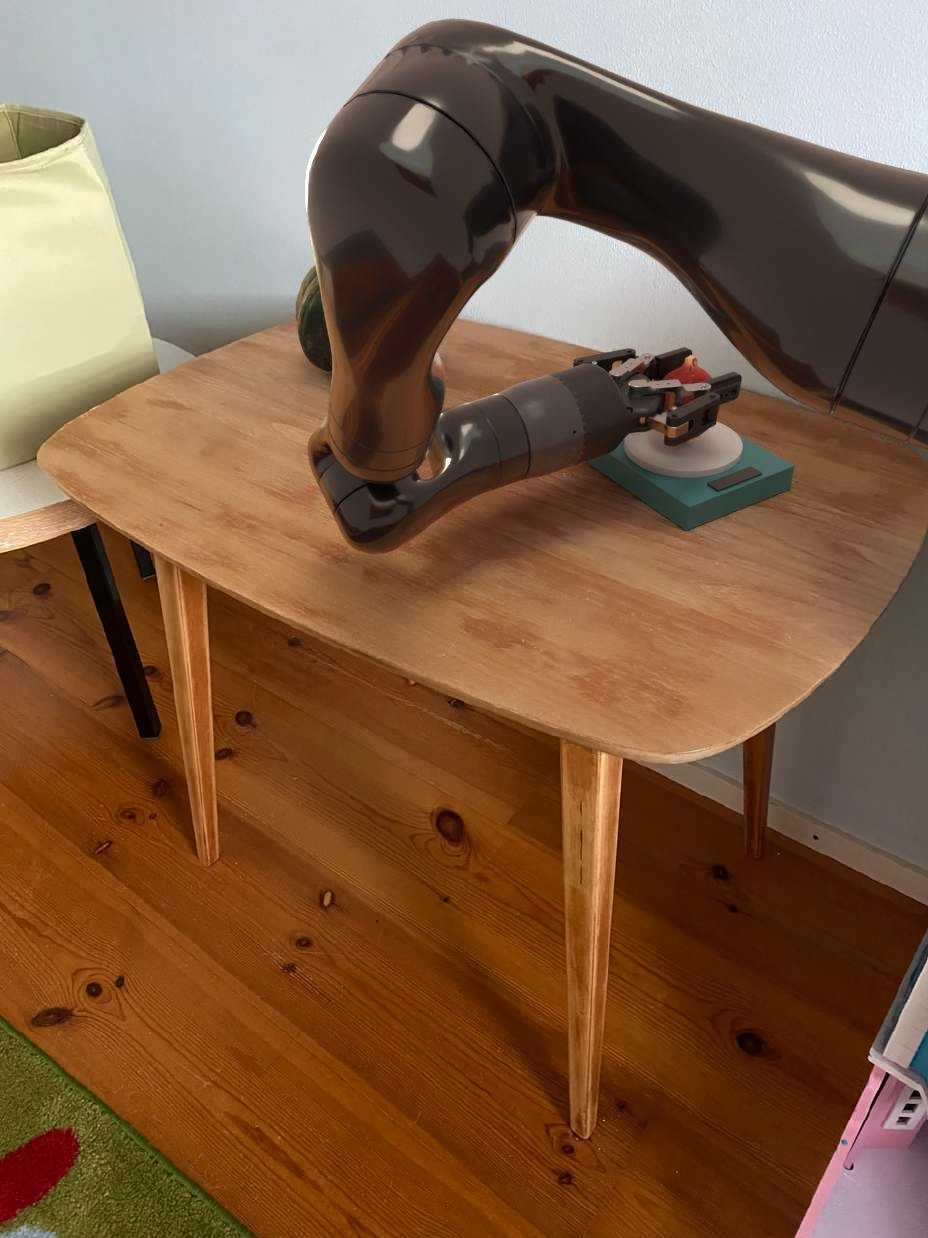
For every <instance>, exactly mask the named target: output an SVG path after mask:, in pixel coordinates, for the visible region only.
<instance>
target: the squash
mask: <svg viewBox="0 0 928 1238" xmlns="http://www.w3.org/2000/svg"><path fill="white" fill-rule="evenodd" d="M300 283H301V284H300V288H299V291H298V294H297V296H296V300H295V320H296V327H297V335H298V340H299V344H300V347H301V350H302V352H303V354H304V356H305V358H307V360H308V361H309V362H310V363H311V364H312V365H313V366H315V367H316V368H318V369H320V370H322V371H325V372H331V373H332V352H331V345H330V340H329V335H328V330H327V325H326V320H325V315H324V310H323V304H322V298H321V292H320V286H319V281H318V276H317V271H316V266H315V265H313V266H312V267H311V268H310V269H309V270H308V271H307V273H306V274H305V276H304V278H303V279H302V281H301V282H300Z"/></svg>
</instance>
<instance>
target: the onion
mask: <svg viewBox="0 0 928 1238" xmlns="http://www.w3.org/2000/svg"><path fill="white" fill-rule="evenodd" d="M698 361H699V358H697V357H696V356H694V355H693V354H692V355H690V356H689V357H687V358H685V362H684V364H683V365H682V367H680V368H678V369H675V370H673V371H672V372H670V373H669V374H667V375H666V376H665V377H664V378H663V379H662V381H663V380H674V379H677V380H679V381H680V382H681V384H693V383H703V381H706V380H709V379H712V378H713V377H712V375H711V374H709V372H708V371H706V370H705V369H703V368H701V366H699V365H698ZM670 395H671V392H667V393H666V400H665V409H664V411H663V412H666V411H667V410H668V409H669V404H670ZM694 398H695V395H690V396H685V397H684V399H683V405H685V404H687V403H689V402H691V401H693V400H694ZM720 409H721V405H719V408H718V413H719V412H720ZM707 430H708V429H707ZM707 430H705V431H707ZM705 431H703V432H701V433H700V434H698V435H696V436H694V437H692V438H690V439H688V440H686V441H684V442H687V441H689V440H691V439H694V438H696V437H698V436H700V435H701V434H703V433H704V432H705ZM684 442H683V443H684Z"/></svg>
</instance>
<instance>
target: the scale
mask: <svg viewBox="0 0 928 1238" xmlns="http://www.w3.org/2000/svg"><path fill="white" fill-rule="evenodd" d="M586 463H587V464H588V465H590V466H591V467H593V468H594V469H596V470H597V471H599V472H600V473H601V474H603V475H604V476H606V477H607V478H609V479H610V480H612V481H613V482H614V483H616V484H617V485H619V486H620V487H622V488H623V489H625V490H626V491H627V492H628V493H630V494H632V495H633V496H635V497H636V498H638V499H639V500H641V501H642V502H643V503H645V504H646V505H648V506H649V507H651V508H652V509H653V510H655V511H656V512H658V513H659V514H661V515H662V516H664V517H665V518H667V519H668V520H669V521H671V522H673V524H675V525H677V526H678V527H679V528H681V529H683V530H684V531H689V530H692V529H694V528H697V527H699V526H701V525H704V524H707V523H710V522H712V521H713V520H714V521H715V520H717V519H719V518H722V517H725V516H726V515H727V516H728V515H730V514H731V513H734V512H736V511H739V510H742V509H744V508H747V507H749V506H752V505H754V504H757V503H759V502H762V501H765V500H766V499H769V498H772V497H774V496H777V495H779V494H781V493H785V492H786V491H789V490H790V489H791V487H792V483H793V482H792V481H793V476H794V472H795V471H794V470H795V465H794V464H792V463H791V462H789V461H787V460H786V459H784V458H782V457H780V456H778V455H776V454H775V453H773V452H771V451H769V450H767V449H766V448H764V447H762V446H760V445H759V444H756V443H755V442H753V441H751V440H750V439H748V438H746V437H744V436H742V435H741V434H739V433H737V432H736V431H734V430H733V429H732V428H731V427H729V426H727V425H726V424H724V423H721V422H718V421H717V423H716V425H715V426H713V427H711V428H709V429H708V430H707V431H705V432H704V433H703V434H701V435H700V436H698V437H696V438H694V439H691V440H689V441H687V442H684V443H681V444H679V445H677V446H667V445H665V444H664V434H662V433H660V432H658V431H656V430H653V429H652V430H650V431H647V432H637V433H630V434H629V435H627V436H626V437H625V439H624V440H623V441H622V442H621V443H620V445H619V446H618V447H617V448H616V449H615V450H614V451H612V452H611V453H608V454H605V455H603V456H600V457H597V458H594V459H591V460H588V461H586Z"/></svg>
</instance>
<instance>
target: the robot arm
mask: <svg viewBox="0 0 928 1238" xmlns="http://www.w3.org/2000/svg"><path fill="white" fill-rule="evenodd" d="M305 176H306V177H305V209H306V210H305V211H306V220H307V229H308V234H309V240H310V246H311V250H312V256H313V260H314V266H316V271H317V276H318V281H319V286H320V292H321V298H322V304H323V310H324V315H325V320H326V325H327V330H328V335H329V340H330V345H331V352H332V372H331V379H330V380H331V381H330V390H329V398H328V399H329V400H328V410H327V415H326V416H325V417H324V418H323V420H322V421H321V423H320V424H319V426H318V427H317V428H316V429H315V430H314V432H313V433H312V434H311V435H310V437H309V439H308V441H307V457H308V463H309V467H310V470H311V472H312V475H313V476H314V479H315V481H316V483H317V486H318V487H319V489H320V491H321V493H322V495H323V498H324V500H325V502H326V504H327V505H328V508H329V510H330V513H331V515H332V516H333V518H334V521H335V523H336V525H337V527H338V529H339V531H340V533H341V535H342V537H343V539H344V540H345V541H346V543H347V544H348V546H349V547H351V548H352V549H353V550H356V551H358V552H360V553H363V554H369V555H383V554H388V553H392V552H394V551H397V550H398V549H400V548H402V547H404V546H405V545H407V544H408V543H410V542H411V541H413V540H414V539H416V537H419V535H420V534H422V533H423V532H424V531H426V530H427V529H428V528H430V527H431V526H432V525H434V524H435V523H436V522H437V521H439V520H440V519H442V518H443V517H445V516H446V515H448V514H449V513H450V512H452V511H454V510H455V509H457V508H459V507H460V506H463V505H464V504H466V503H467V502H469V501H471V500H473V499H474V498H477V497H479V496H481V495H484V494H488V493H490V492H492V491H494V490H498V489H500V488H503V487H506V486H509V485H511V484H515V483H517V482H521V481H525V480H529V479H534V478H540V477H545V476H547V475H550V474H553V473H556V472H559V471H562V470H565V469H568V468H571V467H574V466H577V465H580V464H583V463H586V462H587V461H588V460H591V459H594V458H597V457H600V456H603V455H605V454H608V453H611V452H612V451H614V450H615V449H616V448H617V447H618V446H619V445H620V443H621V442H622V441H623V440H624V439H625V437H626V436H627V435H629V434H630V433H637V432H647V431H650V430H652V429H653V430H656V431H658V432H660V433H662V434H664V444H665V445H667V446H677V445H679V444H681V443H683V442H684V441H686V440H688V439H690V438H692V437H694V436H696V435H698V434H700V433H701V432H703V431H705V430H707V429H709V428H711V427H713V426H715V425H716V423H717V422H718V415H719V412H718V408H719V405H720V406H721V405H724V404H726V403H730V402H733V401H736V400H737V399H738V398H739V397H740V393H741V388H742V387H741V386H742V382H743V381H742V380H743V376H742V375H741V374H739V373H737V372H735V371H731V372H728V373H724V374H722V375H719V376H716V377H712V379H709V380H706V381H703V383H693V384H681V382H680V381H679V380H677V379H674V380H663V381H662V379H663V378H664V377H665V376H666V375H667V374H669V373H670V372H672V371H673V370H675V369H678V368H680V367H682V365H683V364H684V362H685V358H687V357H689V356H690V355H692V356H693V350H692V349H690V348H688V347H686V346H683V347H680V348H677V349H673V350H669V351H667V352H664V353H660V354H657V355H654V354H653V353H642V354H640V355H637V350H636V349H634V348H630V347H626V348H621V349H617V350H611V351H606V352H602V353H597V354H591V355H586V356H581V357H575V358H574V359H573V360H572V366H571V367H569V368H566V369H565V368H564V369H563V370H559V371H555V372H553V373H549V374H546V375H545V374H544V375H542V376H538V377H535V378H532V379H529V380H525V381H522V382H519V383H516V384H514V385H512V386H509V387H507V388H505V389H504V390H501V391H499V392H496V393H494V394H491V395H487V396H483V397H481V398H477V399H474V400H471V401H467V402H464V403H462V404H458V405H454V406H451V407H448V408H445V409H444V405H445V401H446V394H447V375H446V369H445V366H444V361H443V359H442V356H441V354H440V352H439V348H440V346H441V344H442V343H443V341H444V339H445V337H446V336H447V334H448V332H449V331H450V330H451V328H452V327H453V325H454V323H455V322H456V320H457V319H458V317H459V315H460V314H461V313H462V311H463V309H464V308H465V307H466V305H467V304H468V303H469V301H470V300H471V299H472V298H473V296H474V295H476V293H477V292H478V290H479V289H480V288H482V287H483V285H485V284H486V283H487V282H488V281H489V280H490V279H491V278H492V277H493V276H494V275H495V274H496V273H497V272H498V271H499V270H500V268H501V267H502V266H503V264H504V263H505V261H506V260H507V258H508V257H509V256H510V254H511V252H512V251H513V250H514V248H515V247H516V246H517V244H518V242H519V241H520V240H521V238H522V236H523V235H524V234H525V232H526V231H527V229H528V228H529V226H530V225H531V224H532V222H533V220H534V219H535V218H536V217H547V218H552V219H555V220H560V221H563V222H567V223H571V224H574V225H577V226H580V227H584V228H586V229H589V230H591V231H594V232H597V233H599V234H601V235H604V236H607V237H610V238H612V239H614V240H617V241H619V242H622V243H624V244H627V245H628V246H631V247H633V248H634V249H636V250H638V251H640V252H642V253H644V254H645V255H647V256H649V257H650V258H652V259H653V260H655V261H656V262H657V263H659V264H660V266H662V267H663V268H664V269H665V270H667V271H668V272H669V273H670V274H671V275H673V276H674V277H675V278H676V280H677V281H678V282H679V283H680V284H681V285H682V286H683V287H684V288H685V290H686V291H687V292H688V293H689V294H690V296H692V298H693V299H694V300H695V301H696V303H697V304H698V306H700V307H701V309H702V310H703V312H705V314H706V315H707V316H708V317H709V319H710V320H711V321H712V323H713V324H714V325H715V326H716V327H717V328H718V330H719V331H720V332H721V333H722V335H724V337H725V338H726V339H727V340H728V342H729V343H730V344H731V345H732V346H733V347H734V348H735V349H736V350H737V351H738V352H739V354H740V355H741V356H742V357H743V358H744V359H745V360H746V361H747V362H748V363H749V364H750V366H751V367H753V368H754V370H755V371H756V372H757V373H759V374H760V375H761V376H762V378H764V379H765V380H766V381H767V382H769V384H771V385H772V386H773V387H774V388H776V389H777V390H778V391H779V392H781V393H783V394H784V395H786V396H787V397H789V398H790V399H792V400H794V401H796V402H798V403H799V404H801V405H804V406H805V407H809V408H811V409H813V410H815V411H818V412H820V413H822V414H825V415H830V414H832V415H831V416H832V417H833V418H836V419H838V420H840V421H844V422H847V423H849V424H851V425H855V426H858V427H860V428H863V429H865V430H869V431H872V432H874V433H877V434H880V435H881V436H882V435H883V436H885V437H888V438H891V439H893V440H896V441H898V442H902V443H906V444H907V445H911V446H913V447H917V448H920V449H923V450H927V451H928V173H924V172H920V171H915V170H911V169H906V168H904V167H903V168H902V167H898V166H893V165H890V164H885V163H881V162H877V161H874V160H871V159H866V158H863V157H859V156H856V155H853V154H849V153H846V152H842V151H839V150H836V149H832V148H829V147H827V146H823V145H820V144H817V143H814V142H811V141H807V140H804V139H801V138H799V137H795V136H792V135H789V134H787V133H783V132H779V131H776V130H773V129H769V128H767V127H764V126H761V125H758V124H756V123H755V124H754V123H751V122H749V121H745V120H742V119H738V118H735V117H732V116H728V115H725V114H723V113H719V112H716V111H713V110H710V109H706V108H704V107H700V106H697V105H696V104H695V105H694V104H692V103H689V102H687V101H684V100H682V99H679V98H676V97H675V96H671V95H668V94H666V93H664V92H661V91H658V90H656V89H653V88H652V87H649V86H646V85H644V84H641V83H639V82H637V81H635V80H632V79H630V78H627V77H625V76H623V75H621V74H618V73H616V72H613V71H611V70H608V69H606V68H603V67H601V66H599V65H596V64H594V63H591V62H589V61H588V60H584V59H582V58H580V57H578V56H575V55H573V54H571V53H568V52H565V51H563V50H561V49H558V48H556V47H554V46H551V45H549V44H547V43H545V42H541V40H537V39H534V38H532V37H530V36H526V35H524V34H521V33H518V32H515V31H513V30H511V29H508V28H505V27H502V26H499V25H495V24H491V23H488V22H483V21H477V20H472V19H465V18H445V19H440V20H432V21H429V22H427V23H425V24H423V25H421V26H419V27H417V28H415V29H414V30H412V31H411V32H409V33H408V34H406V35H405V36H403V37H402V38H401V39H400V40H399V41H398V42H397V43H396V44H394V46H393V47H392V48H390V50H389V51H388V52H387V53H386V54H385V56H384V57H383V58H382V60H381V61H380V62H378V64H377V65H375V67H374V69H372V71H371V72H370V73H369V74H368V76H366V78H365V79H364V81H363V82H362V83H361V84H360V85H359V87H357V89H356V90H355V91H354V92H353V94H352V95H351V96H350V97H349V99H347V100H346V102H345V103H344V104H343V106H342V107H341V108H340V109H339V110H338V112H337V113H336V114H335V115H334V117H332V119H331V120H330V122H329V123H328V124H327V126H326V127H325V128H324V130H323V132H322V133H321V134H320V137H319V138H318V140H317V142H316V144H315V146H314V149H313V150H312V154H311V156H310V158H309V161H308V164H307V169H306V175H305ZM617 362H621V363H620V365H619V366H618V367H617V366H615V367H613V365H614V364H615V363H617ZM667 392H671V395H670V404H669V409H668V410H667V411H666V412H663V411H664V409H665V400H666V393H667ZM690 395H695V398H694V400H693V401H691V402H689V403H687V404H685V405H683V399H684V397H685V396H690ZM443 409H444V410H443ZM427 457H428V461H429V466H430V470H431V476H432V477H430V478H427V479H422V478H421V476H420V474H419V472H418V470H419V468H420V467H421V466H422V465H423V463H424V462H425V460H426V458H427Z"/></svg>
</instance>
